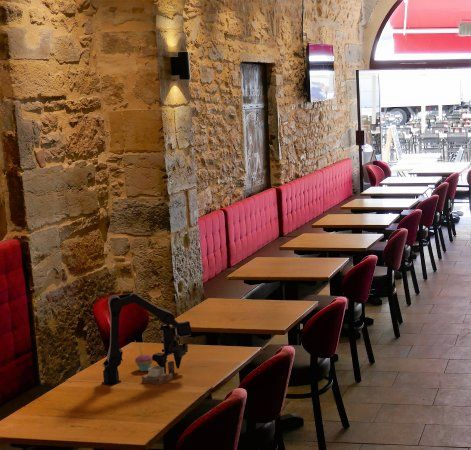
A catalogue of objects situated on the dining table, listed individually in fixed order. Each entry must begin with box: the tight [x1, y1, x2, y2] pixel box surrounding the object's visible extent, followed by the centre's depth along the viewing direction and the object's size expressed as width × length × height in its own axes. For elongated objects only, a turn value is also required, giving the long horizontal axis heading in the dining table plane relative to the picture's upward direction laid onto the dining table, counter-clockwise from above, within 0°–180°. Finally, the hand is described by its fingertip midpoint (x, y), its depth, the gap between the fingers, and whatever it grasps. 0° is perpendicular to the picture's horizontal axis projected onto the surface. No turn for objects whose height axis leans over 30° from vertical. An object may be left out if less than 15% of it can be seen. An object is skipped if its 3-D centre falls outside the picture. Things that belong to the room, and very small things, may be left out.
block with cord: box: [147, 360, 176, 379], centre depth 396 cm, size 14×5×6 cm, turn 142°
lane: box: [141, 373, 174, 386], centre depth 393 cm, size 10×9×2 cm
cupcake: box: [134, 345, 154, 372], centre depth 410 cm, size 9×8×12 cm
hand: (171, 371), depth 400 cm, fingers open, 9 cm apart
